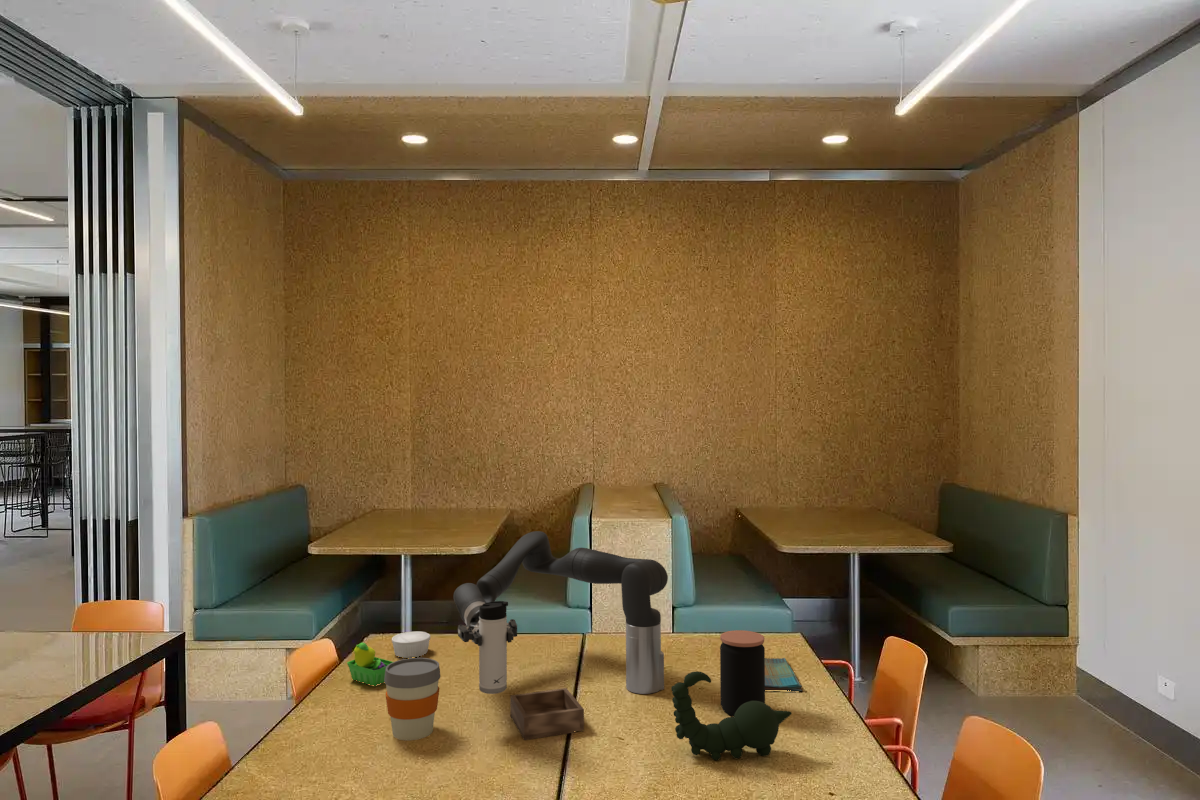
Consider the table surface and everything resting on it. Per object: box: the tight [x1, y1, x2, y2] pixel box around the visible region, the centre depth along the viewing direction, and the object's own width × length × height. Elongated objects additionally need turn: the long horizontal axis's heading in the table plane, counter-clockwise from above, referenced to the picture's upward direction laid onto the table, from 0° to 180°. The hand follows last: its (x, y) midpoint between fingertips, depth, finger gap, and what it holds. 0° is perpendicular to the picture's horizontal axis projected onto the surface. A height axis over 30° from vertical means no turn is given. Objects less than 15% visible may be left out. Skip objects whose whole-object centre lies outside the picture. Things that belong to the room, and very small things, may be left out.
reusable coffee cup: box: [384, 657, 441, 741], centre depth 177 cm, size 13×13×15 cm
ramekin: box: [391, 631, 431, 659], centre depth 232 cm, size 11×11×5 cm
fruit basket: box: [346, 642, 394, 687], centre depth 209 cm, size 11×9×11 cm
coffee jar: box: [719, 629, 766, 717], centre depth 188 cm, size 11×11×18 cm
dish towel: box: [765, 657, 803, 691], centre depth 211 cm, size 17×23×2 cm
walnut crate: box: [509, 687, 585, 741], centre depth 181 cm, size 14×14×5 cm
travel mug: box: [478, 600, 509, 695], centre depth 177 cm, size 6×7×20 cm
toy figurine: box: [670, 670, 792, 761], centre depth 164 cm, size 9×19×25 cm
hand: (495, 639), depth 174 cm, fingers closed on travel mug, 6 cm apart
